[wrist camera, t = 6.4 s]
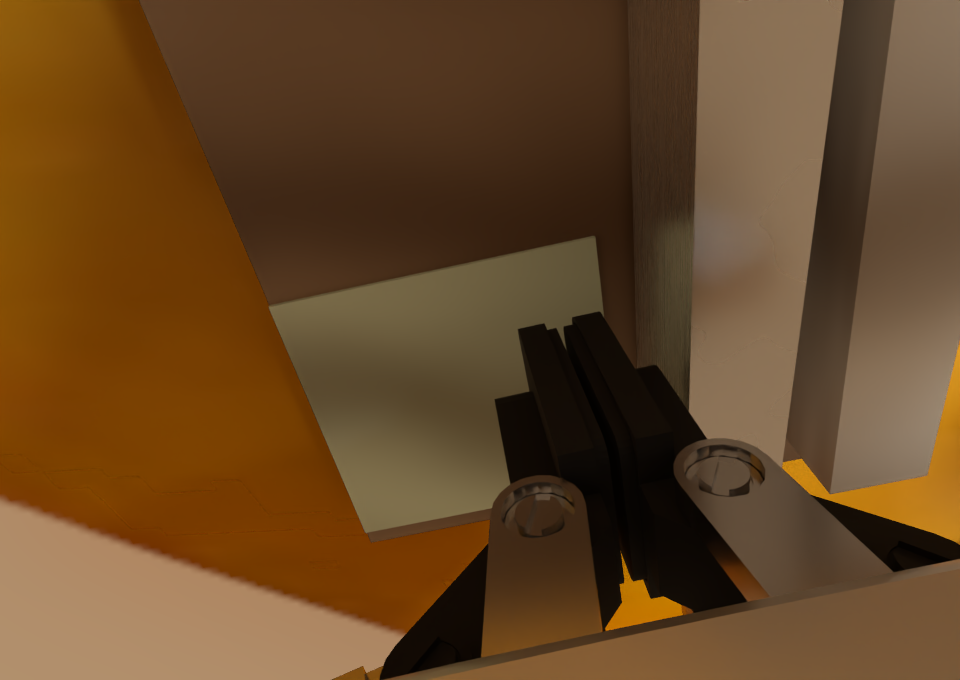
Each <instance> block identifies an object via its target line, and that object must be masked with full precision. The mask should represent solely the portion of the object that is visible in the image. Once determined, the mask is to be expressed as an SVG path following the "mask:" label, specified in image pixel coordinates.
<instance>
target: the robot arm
mask: <svg viewBox="0 0 960 680" xmlns="http://www.w3.org/2000/svg"><path fill="white" fill-rule="evenodd" d="M563 331H564V338H565V345H566V349H565V346H564V344H563V342H562V339H561V337H560V335H559V332H558V330H557V328H553V329H549V330H547V328H546V326H545V324H544V323H543V324H538V325H534V326H529V327H524V328H520V329H518V335H519V340H520V346H521V351H522V356H523V361H524V366H525V372H526V377H527V382H528V387H529V392H525V393H520V394H515V395H511V396H506V397H501V398H497V399H494V400H495V406H496V411H497V416H498V422H499V427H500V432H501V438H502V443H503V448H504V454H505V459H506V464H507V470H508V475H509V480H510V485H509V486H508V487H506V488H505V489H504V490H503V491H501V492H500V494H499V495H498V496H497V498H496V499H495V501H494V502H493V506H492V510H491V514H490V529H489V543H488V545H487V546H486V547H485V548H484V549H483V550H482V551H481V552H480V553H479V554H478V555H477V557H476V558H475V559H474V560H473V561H472V562H471V563H470V564H469V565H468V566H467V568H466V569H465V570H464V571H463V572H462V573H461V574H460V575H459V576H458V577H457V579H456V580H455V581H454V582H453V583H452V584H451V585H450V586H449V587H448V588H447V590H446V591H445V592H444V593H443V594H442V595H441V596H440V597H439V598H438V599H437V601H436V602H435V603H434V604H433V605H432V606H431V607H430V608H429V609H428V610H427V612H426V613H425V614H424V615H423V616H422V617H421V618H420V619H419V620H418V621H417V623H416V624H415V625H414V626H413V627H412V628H411V629H410V630H409V631H408V632H407V634H406V635H405V636H404V637H403V638H402V639H401V640H400V641H399V643H398V644H397V645H396V646H395V647H394V649H393V650H392V651H391V653H390V655H389V656H388V657H387V659H386V661H385V663H384V666H382V667H379V668H377V669H375V670H373V671H370V672H368V673H366V672H365V670H364V667H363V666H362V667H360V668H357V669H355V670H353V671H350V672H348V673H346V674H344V675H342V676H339V677H337V678H334V679H332V680H960V545H959V544H957V543H956V542H954V541H951V540H949V539H946V538H944V537H941V536H939V535H937V534H934V533H931V532H928V531H924V530H921V529H918V528H915V527H912V526H908V525H905V524H902V523H899V522H896V521H892V520H889V519H886V518H883V517H880V516H877V515H873V514H870V513H867V512H864V511H861V510H857V509H854V508H851V507H848V506H845V505H841V504H838V503H835V502H832V501H829V500H825V499H822V498H819V497H816V496H813V495H810V494H809V493H808V492H807V491H806V490H805V489H804V488H803V487H801V486H800V485H799V484H798V483H797V482H796V481H795V480H794V479H793V478H792V477H791V476H790V475H789V474H787V473H786V472H785V471H784V470H783V469H782V468H781V467H780V466H779V465H778V464H777V463H776V462H775V461H773V460H772V459H771V458H770V457H769V456H768V455H767V454H766V453H764V452H763V451H761V450H760V449H758V448H757V447H755V446H753V445H750V444H748V443H745V442H743V441H738V440H733V439H728V438H711V439H707V438H706V436H705V435H704V433H703V432H702V430H701V429H700V427H699V426H698V424H697V423H696V421H695V420H694V419H693V417H692V416H691V414H690V413H689V411H688V410H687V408H686V407H685V405H684V404H683V402H682V401H681V399H680V398H679V396H678V395H677V393H676V392H675V390H674V389H673V388H672V386H671V385H670V383H669V382H668V380H667V379H666V377H665V376H664V374H663V373H662V371H661V370H660V369H659V367H658V366H657V365H650V366H646V367H641V368H636V369H635V368H634V366H633V364H632V363H631V361H630V359H629V358H628V356H627V354H626V353H625V351H624V350H623V348H622V346H621V345H620V343H619V341H618V340H617V338H616V336H615V335H614V333H613V331H612V330H611V328H610V326H609V325H608V323H607V322H606V320H605V318H604V317H603V315H602V313H601V312H600V311H598V312H594V313H589V314H584V315H580V316H575V317H572V325H567V326H564V327H563ZM621 553H622V556H623V558H624V561H625V564H626V566H627V569H628V572H629V574H630V577H631V579H632V581H637V580H642V579H643V580H644V583H645V585H646V588H647V590H648V593H649V596H650V598H651V599H652V598H657V597H662V596H664V597H666V598H668V599H670V600H672V601H675V602H677V603H679V604H681V605H682V613H683V615H682V616H677V617H672V618H667V619H662V620H657V621H653V622H648V623H643V624H638V625H633V626H628V627H624V628H619V629H614V630H609V631H606V630H605V627H606V626H607V624H608V623H609V621H610V620H611V618H612V617H613V615H614V614H615V612H616V610H617V609H618V607H619V606H620V604H621V603H622V600H621V592H620V584H622V583H624V575H623V567H622V558H621Z"/></svg>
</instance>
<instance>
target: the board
mask: <svg viewBox="0 0 960 680" xmlns="http://www.w3.org/2000/svg"><path fill="white" fill-rule="evenodd" d="M139 2H140V4H141V6H142V9H143V11H144V13H145V16H146V18H147V20H148V23H149V25H150V28H151V30H152V32H153V35H154V37H155V39H156V42H157V44H158V46H159V49H160V51H161V53H162V56H163V58H164V60H165V63H166V65H167V67H168V70H169V72H170V74H171V77H172V79H173V81H174V84H175V86H176V88H177V91H178V93H179V95H180V98H181V100H182V102H183V105H184V107H185V109H186V112H187V114H188V116H189V119H190V121H191V123H192V126H193V128H194V130H195V133H196V135H197V137H198V140H199V142H200V144H201V147H202V149H203V151H204V154H205V156H206V158H207V161H208V163H209V165H210V168H211V170H212V172H213V175H214V177H215V179H216V182H217V184H218V186H219V189H220V191H221V193H222V196H223V198H224V200H225V203H226V205H227V207H228V210H229V212H230V214H231V217H232V219H233V221H234V224H235V226H236V228H237V231H238V233H239V235H240V238H241V240H242V242H243V245H244V247H245V249H246V252H247V254H248V256H249V259H250V261H251V263H252V266H253V268H254V270H255V273H256V275H257V277H258V280H259V282H260V284H261V287H262V289H263V291H264V294H265V296H266V298H267V301H268V303H269V307H268V308H269V310H270V312H271V315H272V317H273V319H274V322H275V324H276V326H277V329H278V331H279V333H280V336H281V338H282V340H283V343H284V345H285V347H286V349H287V352H288V354H289V356H290V359H291V361H292V363H293V366H294V368H295V370H296V373H297V375H298V377H299V380H300V382H301V384H302V387H303V389H304V391H305V394H306V396H307V398H308V401H309V403H310V405H311V408H312V410H313V412H314V415H315V417H316V419H317V422H318V424H319V426H320V429H321V431H322V433H323V435H324V438H325V440H326V442H327V445H328V447H329V449H330V452H331V454H332V456H333V459H334V461H335V463H336V466H337V468H338V470H339V473H340V475H341V477H342V480H343V482H344V484H345V487H346V489H347V491H348V494H349V496H350V498H351V501H352V503H353V505H354V508H355V510H356V512H357V514H358V517H359V519H360V521H361V524H362V526H363V528H364V531H365V533H367V534H368V536H369V539H370V541H371V543H372V542H377V541H382V540H387V539H392V538H397V537H402V536H407V535H413V534H418V533H423V532H428V531H433V530H438V529H443V528H448V527H453V526H459V525H464V524H469V523H474V522H479V521H484V520H489V519H490V514H491V510H492V506H493V502H494V501H495V499H496V498H497V496H498V495H499V494H500V492H501V491H503V490H504V489H505V488H506V487H508V486H509V485H510V480H509V475H508V470H507V464H506V459H505V454H504V448H503V443H502V438H501V432H500V427H499V422H498V416H497V411H496V406H495V400H494V399H497V398H501V397H506V396H511V395H515V394H520V393H525V392H529V387H528V382H527V377H526V372H525V366H524V361H523V356H522V351H521V346H520V340H519V335H518V329H520V328H524V327H529V326H534V325H538V324H543V323H544V324H545V326H546V328H547V330H549V329H553V328H557V330H558V332H559V335H560V337H561V339H562V342H563V344H564V346H565V349H566V345H565V338H564V331H563V327H564V326H567V325H572V317H575V316H580V315H584V314H589V313H594V312H598V311H600V312H601V313H602V315H603V317H604V318H605V320H606V322H607V323H608V325H609V326H610V328H611V330H612V331H613V333H614V335H615V336H616V338H617V340H618V341H619V343H620V345H621V346H622V348H623V350H624V351H625V353H626V354H627V356H628V358H629V359H630V361H631V363H632V364H633V366H634V368H635V369H636V368H637V339H636V302H635V265H634V227H633V190H632V153H631V115H630V78H629V41H628V3H627V0H139ZM959 340H960V0H844V3H843V10H842V18H841V26H840V33H839V41H838V48H837V56H836V63H835V71H834V78H833V86H832V93H831V101H830V108H829V116H828V124H827V131H826V139H825V146H824V154H823V161H822V169H821V176H820V184H819V191H818V199H817V206H816V214H815V222H814V229H813V237H812V244H811V252H810V259H809V267H808V274H807V282H806V289H805V297H804V304H803V312H802V319H801V327H800V335H799V342H798V350H797V357H796V365H795V372H794V380H793V387H792V395H791V402H790V410H789V417H788V425H787V433H786V440H785V448H784V455H783V462H786V461H791V460H796V459H801V458H802V459H803V461H804V462H805V463H806V464H807V466H808V467H809V468H810V469H811V471H812V472H813V473H814V475H815V476H816V477H817V478H818V480H819V481H820V482H821V483H822V485H823V486H824V487H825V489H826V490H827V491H828V492H829V494H834V493H839V492H844V491H849V490H855V489H860V488H865V487H870V486H875V485H881V484H886V483H891V482H896V481H901V480H906V479H912V478H917V477H922V476H927V474H928V470H929V465H930V461H931V457H932V453H933V449H934V445H935V440H936V436H937V432H938V428H939V424H940V420H941V415H942V411H943V407H944V403H945V399H946V395H947V390H948V386H949V382H950V378H951V374H952V370H953V365H954V361H955V357H956V353H957V349H958V345H959Z"/></svg>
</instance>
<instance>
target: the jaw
mask: <svg viewBox="0 0 960 680" xmlns="http://www.w3.org/2000/svg"><path fill="white" fill-rule="evenodd" d="M627 3H628V41H629V78H630V115H631V153H632V190H633V227H634V265H635V302H636V339H637V368H641V367H646V366H650V365H657V366H658V367H659V369H660V370H661V371H662V373H663V374H664V376H665V377H666V379H667V380H668V382H669V383H670V385H671V386H672V388H673V389H674V390H675V392H676V393H677V395H678V396H679V398H680V399H681V401H682V402H683V404H684V405H685V407H686V408H687V410H688V411H689V413H690V414H691V416H692V417H693V419H694V420H695V421H696V423H697V424H698V426H699V427H700V429H701V430H702V432H703V433H704V435H705V436H706V438H707V439H711V438H728V439H733V440H738V441H743V442H745V443H748V444H750V445H753V446H755V447H757V448H758V449H760V450H761V451H763V452H764V453H766V454H767V455H768V456H769V457H770V458H771V459H772V460H773V461H775V462H776V463H777V464H778V465H779V466H780V467H781V468H782V463H783V455H784V448H785V440H786V433H787V425H788V417H789V410H790V402H791V395H792V387H793V380H794V372H795V365H796V357H797V350H798V342H799V335H800V327H801V319H802V312H803V304H804V297H805V289H806V282H807V274H808V267H809V259H810V252H811V244H812V237H813V229H814V222H815V214H816V206H817V199H818V191H819V184H820V176H821V169H822V161H823V154H824V146H825V139H826V131H827V124H828V116H829V108H830V101H831V93H832V86H833V78H834V71H835V63H836V56H837V48H838V41H839V33H840V26H841V18H842V10H843V3H844V0H627Z"/></svg>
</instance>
